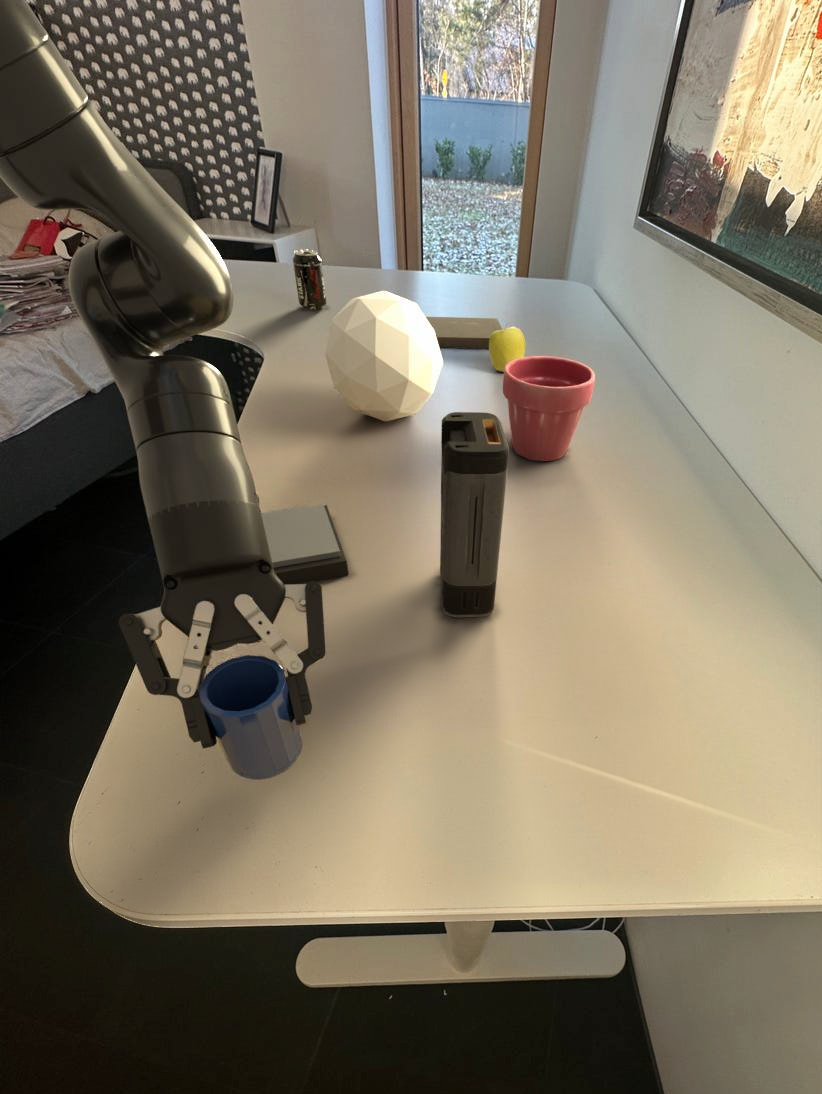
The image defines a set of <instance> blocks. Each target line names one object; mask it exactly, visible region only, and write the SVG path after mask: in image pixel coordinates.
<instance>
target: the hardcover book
mask: <svg viewBox="0 0 822 1094" xmlns="http://www.w3.org/2000/svg"><path fill="white" fill-rule="evenodd" d="M425 317H426V319H427V320H428V322H429V323H430V325H431V326H432V328H433V329H434V331H435V335H436V338H437V342H438V345H439V349H471V350H472V349H473V350H474V349H480V350H489V340H490V337H491V335H492V333H493V332H495V331H498V330H503V328H502V326H501V323H500V321H499V320H498V318H497V317H496V318H495V317H494V318H492V317H455V316H425Z"/></svg>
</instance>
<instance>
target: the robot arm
mask: <svg viewBox="0 0 822 1094" xmlns="http://www.w3.org/2000/svg"><path fill="white" fill-rule="evenodd" d="M88 97H89V96H88V94H87V92H86V91H85V90H84V88H83V86H82V85H81V84H80V82H79V80H78V78H77V77H76V76H75V74H74V72H73V71H72V70H71V68H70V66H69V64H68V63H67V61H66V60H65V59H64V57H63V56H62V54H61V52H60V51H59V49H58V48H57V46H56V44H55V43H54V41H53V40H52V39H51V37H50V36H49V34H48V33H47V30H46V29H45V27H44V26H43V25H42V23H41V22H40V20H39V18H38V17H37V16H36V14H35V12H34V11H33V9H32V8H31V6H30V5H29V4H28V2H27V1H26V0H0V179H1V180H2V181H3V182H4V184H5V185H6V186H7V187H8V188H9V189H10V190H11V191H12V193H13V194H14V195H15V196H17V198H19V199H20V200H21V201H22V202H23V203H25V204H27V205H28V206H30V207H32V208H35V209H37V210H42V211H58V210H59V211H60V210H83V211H89V212H92V213H94V214H96V215H98V216H100V217H101V218H102V219H104V220H106V221H107V222H108V223H109V224H111V225H112V226H113V227H115V228H116V229H117V230H118V231H116V232H113V233H110V234H108V235H105V236H103V237H101V238H97V239H95V240H93V241H91V242H89V243H86V244H84V245H82V246H81V247H80V248H78V249H77V250H76V252H75V253H74V254H73V256H72V258H71V261H70V264H69V269H68V279H67V281H68V289H69V290H68V291H69V295H70V298H71V301H72V304H73V306H74V308H75V310H76V312H77V315H78V316H79V318H80V321H82V323H83V325H84V327H85V328H86V330H87V333H89V336H90V337H91V339H92V340H93V342H94V345H95V346H96V348H97V349H98V351H99V353H100V355H101V357H102V359H103V361H104V363H105V365H106V367H107V369H108V371H109V373H110V375H111V377H112V378H113V381H114V382H115V384H116V386H117V388H118V390H119V392H120V394H121V397H122V399H123V401H124V404H125V409H126V414H127V415H126V416H127V420H128V423H129V428H130V432H131V435H132V436H131V437H132V440H133V445H134V448H135V453H136V458H137V465H138V466H137V467H138V481H139V487H140V492H141V496H142V500H143V504H144V508H145V513H146V518H147V522H148V525H149V530H150V535H151V537H152V543H153V547H154V550H155V551H154V552H155V554H156V560H157V564H158V568H159V573H160V577H161V580H162V581H161V582H162V586H163V596H162V599H161V602H160V606H158V607H154V608H151V609H148V610H145V611H142V612H140V613H139V612H138V613H130V612H129V613H128V612H126V613H123V614H122V615H120V616H119V618H118V625H119V628H120V631H121V633H122V635H123V637H124V640H125V642H126V643H127V646H128V649H129V651H130V654H131V656H132V658H133V661H134V663H135V666H136V667H137V670H138V672H139V675H140V677H141V680H142V682H143V684H144V686H145V688H146V689H145V690H146V691H147V692H148V693H149V694H150V695H153V696H166V697H167V696H168V697H174V698H176V699H178V700H179V701H180V703H181V707H182V710H183V716H184V721H185V724H186V728H187V733H188V737H189V739H190V740H191V741H192V742H193V743H198V742H200V745H201V747H202V749H203V750H204V749H208V748H212V747H215V746H216V745H217V742H218V740H217V738H216V735H215V733H214V731H213V729H212V726H211V724H210V722H209V719H208V717H207V715H206V713H205V710H204V708H203V706H202V704H201V701H200V692H199V689H200V686H201V684H202V682H203V680H204V678H205V676H206V673H207V669H208V667H209V664H210V661H211V657H212V653H213V652H214V651H215V652H217V651H221V650H227V649H229V648H232V647H233V646H235V645H252V644H256V643H257V644H258V643H260V642H261V641H263V642H264V643H265V644H266V646H267V647H268V648H269V650H270V651H271V652H272V653H273V654H274V656H275V657H276V658H277V659H278V660H279V662H280V663H281V664H282V665H283V667H285V670H286V675H287V676H286V681H287V686H288V691H289V695H290V700H291V704H292V709H293V713H294V717H295V721H296V725H299V726H301V725H304V724H307V720H306V716H308V715H311V714H312V710H313V704H312V700H311V695H310V690H309V687H308V682H307V678H306V671H307V669H308V668H309V667H310V666H312V665H314V664H315V663H316V662H318V661H320V660H322V659H324V657H325V656H326V654H327V653H326V652H327V650H326V634H325V621H324V619H325V618H324V603H323V589H322V586H321V584H320V582H318V581H310V582H307V583H302V584H287V585H284V584H283V582H282V581H281V580H280V579H279V578H278V577H277V575H276V574H275V572H274V568H273V563H272V559H271V554H270V550H269V546H268V541H267V537H266V533H265V528H264V524H263V520H262V516H261V513H262V512H261V507H260V496H259V494H258V492H257V490H256V485H255V481H254V478H253V474H252V470H251V468H250V465H249V463H248V460H247V457H246V455H245V452H244V448H243V444H242V439H241V436H240V431H239V427H238V422H237V418H236V413H235V408H234V405H233V400H232V398H231V397H232V396H231V393H230V390H229V386H228V383H227V381H226V379H225V377H224V375H223V374H222V373H221V372H220V371H219V369H217V368H216V367H215V366H214V365H212V364H211V363H209V362H207V361H205V360H203V359H200V358H196V357H193V356H188V355H178V354H176V355H175V354H173V355H172V354H171V355H170V354H164V347H165V346H167V345H171V344H174V343H176V342H179V341H182V340H185V339H188V338H191V337H194V336H196V335H200V334H203V333H205V332H208V331H211V330H214V329H217V328H218V327H220V326H222V325H223V324H225V323H226V322H227V321H228V319H229V318H230V317H231V314H232V311H233V308H234V287H233V283H232V279H231V277H230V273H229V271H228V268H227V266H226V264H225V261H224V260H223V258H222V257H221V254H220V253H219V251H218V250H217V248H216V246H215V244H213V242H212V241H211V239H210V238H209V237H208V236H207V235H206V233H205V232H204V231H203V230H202V228H200V226H199V225H198V224H197V223H196V222H195V220H193V219H192V218H191V216H189V214H188V213H187V212H186V211H185V210H184V209H183V208H182V207H181V206H180V205H179V204H178V203H177V202H176V201H175V200H174V199H173V198H172V196H171V195H169V194H168V193H167V192H166V191H165V189H164V188H163V187H162V186H161V185H160V184H159V183H158V182H157V181H156V180H155V179H154V177H153V176H152V175H151V174H150V173H149V172H148V171H147V170H146V168H145V167H144V166H143V165H142V164H141V163H140V162H139V161H138V159H136V157H135V155H133V154H132V153H131V152H130V150H129V149H128V148H127V147H126V146H125V145H124V144H123V143H122V141H121V140H120V139H119V137H117V136H116V134H115V133H114V132H113V131H112V130H111V128H110V127H109V126H108V125H107V123H106V122H105V120H104V118H103V117H102V116H101V115H100V113H99V111H98V110H97V108H96V107H95V105H94V104H93V102H92V100H90V99H89V98H88ZM286 599H290V600H291V601H292V602H293V604H294V607H295V609H296V610H297V611H298V612H300V613H305V618H306V631H307V633H306V634H307V646H308V647H307V648H306V649H304V650H303V651H301V652H298V653H296V652H295V650H294V649H293V647H291V646H290V644H289V643H288V641H286V639H285V638H284V636H283V635H282V634H281V633H280V632H279V630H278V629H277V628H276V627H275V625H274V623H275V621H276V619H277V617H278V614H279V612H280V610H281V608H282V606H283V604H284V601H285V600H286ZM166 621H167V622H169V623H170V624H171V625H173V626H174V628H176V629H178V630H179V631H180V632H181V633H182V634H183V635H185V636H186V637H188V639H187V641H186V646H185V651H184V654H183V658H182V667H181V672H180V675H179V678H178V677H171V674H170V672H169V669H168V667H167V665H166V663H165V660H164V657H163V655H162V653H161V651H160V648H159V646H158V643H157V641H158V640H160V639H161V637H162V636H163V629H162V626H163V624H164V623H165V622H166Z"/></svg>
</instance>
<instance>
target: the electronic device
mask: <svg viewBox="0 0 822 1094" xmlns="http://www.w3.org/2000/svg"><path fill="white" fill-rule="evenodd" d="M440 434H441V436H440V437H441V441H440V443H441V445H440V446H441V451H440V452H441V457H440V458H441V462H440V463H441V464H440V550H439V553H440V555H439V556H440V557H439V559H440V561H439V563H440V564H439V570H440V571H439V579H440V592H441V604H442V605H441V606H442V610H443V612H444V613H445V614H446V615H447V616H450V617H452V618H483V617H487V616H489V615H491V614H492V613H493V612H494V611H495V610H494V608H495V599H496V590H497V581H498V580H497V579H498V571H499V570H498V569H499V560H500V551H501V550H500V549H501V540H502V539H501V538H502V530H503V518H504V510H505V509H504V508H505V498H506V490H507V489H506V488H507V477H508V468H509V458H510V446H509V443H508V440H507V437H506V433H505V430H504V427H503V424H502V421H501V419H500V418H498V417H497V415H495V413H494V414H493V413H491V412H482V411H481V412H479V411H478V412H477V411H476V412H475V411H473V412H472V411H469V412H468V411H455V412H454V411H453V412H448V413H447V414H446V415H444V417H442V419H441V433H440Z"/></svg>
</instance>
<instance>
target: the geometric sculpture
mask: <svg viewBox="0 0 822 1094" xmlns="http://www.w3.org/2000/svg"><path fill="white" fill-rule="evenodd" d="M426 317H427V316H425V313H423V311H422V310H421V308H420V307H419V305H418V304H417V302H415V301H412V300H409V299H407V298H405V297H402V296H399V295H396V294H394V293H392V292H389V291H388V290H387V291H386V290H380V291H377V292H373V293H368V294H366V295H361V296H357V297H354V298H351V299H350V300H349V301H348V302H347V303H345V305H344V306H343V307H342V308H341V309H340V310H339V312H338V313H336V314H335V315H334V316H333V317H332V318H331V319H330V325H329V330H328V331H329V332H328V336H327V337H328V338H327V342H326V343H327V344H326V350H325V359H326V362H327V366H328V370H329V374H330V378H331V381H332V385H333V389H334V390H335V391H336V392H337V393H338V394H339V395H340V396H341V397H342V398H343V399H344V400H345V402H346V403H347V404H348V405H349V406H350V407H351V409H353V411H355V412H358V413H360V414H363V415H366V416H369V417H372V418H374V419H377V420H379V421H382V422H390V421H394V420H397V419H402V418H405V417H411V416H415V415H416V414H417V413H418V412H419V410H421V408H422V407H423V406H424V405H425V404H426V403H427V402H428V400H429V399H430V398H431V397H432V395H433V394H434V391H435V390H436V386H437V383H438V380H439V377H440V374H441V371H442V369H443V366H444V359H443V355H442V353H441V348H439V345H438V342H437V338H436V335H435V331H434V329H433V328H432V326H431V325H430V323H429V322H428V320H427V319H426Z"/></svg>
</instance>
